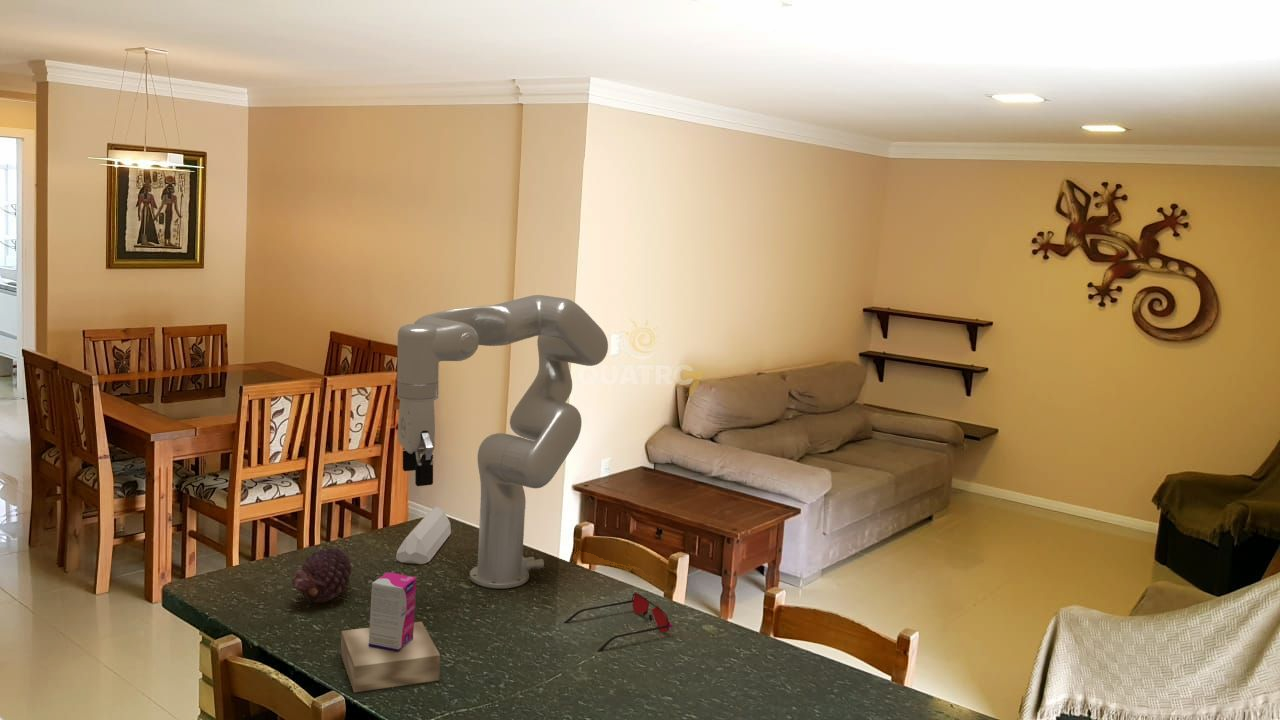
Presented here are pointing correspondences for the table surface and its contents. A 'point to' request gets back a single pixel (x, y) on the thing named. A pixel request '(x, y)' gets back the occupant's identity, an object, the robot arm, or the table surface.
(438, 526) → the white chamfered bar
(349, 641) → the birch plinth
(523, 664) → the table surface
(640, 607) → the glasses
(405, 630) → the supplement box
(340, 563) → the purple hedgehog toy
